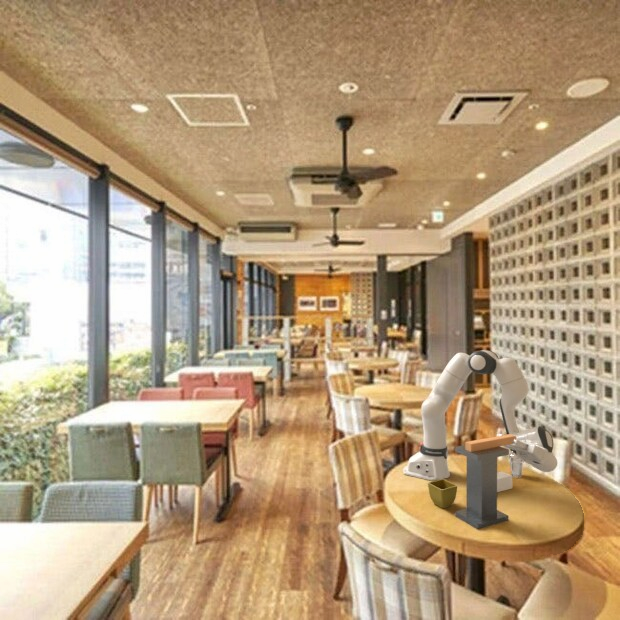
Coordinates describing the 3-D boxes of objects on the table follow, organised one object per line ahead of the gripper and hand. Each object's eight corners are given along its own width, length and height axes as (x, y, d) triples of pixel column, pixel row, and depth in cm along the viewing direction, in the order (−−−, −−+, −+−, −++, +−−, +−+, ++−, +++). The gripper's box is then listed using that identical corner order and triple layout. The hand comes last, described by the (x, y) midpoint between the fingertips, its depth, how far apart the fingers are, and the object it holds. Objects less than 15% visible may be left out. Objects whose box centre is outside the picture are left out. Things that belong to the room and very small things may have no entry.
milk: (502, 483, 220) (466, 492, 211) (502, 470, 220) (466, 479, 210) (512, 488, 215) (476, 497, 205) (512, 475, 215) (476, 484, 205)
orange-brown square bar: (471, 451, 181) (471, 444, 181) (465, 449, 183) (465, 441, 183) (515, 443, 191) (515, 435, 191) (509, 441, 194) (509, 434, 194)
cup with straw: (507, 471, 236) (507, 431, 235) (526, 474, 232) (527, 433, 232) (507, 477, 228) (507, 436, 227) (527, 480, 224) (527, 438, 224)
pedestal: (477, 529, 177) (477, 455, 176) (455, 516, 188) (455, 446, 187) (508, 520, 184) (508, 449, 183) (485, 508, 195) (485, 441, 194)
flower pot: (441, 511, 192) (441, 489, 192) (427, 503, 200) (427, 482, 200) (457, 507, 196) (457, 485, 196) (442, 499, 204) (442, 478, 204)
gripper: (510, 437, 206) (490, 425, 201) (551, 451, 188) (530, 437, 182) (505, 451, 205) (484, 438, 200) (546, 466, 187) (525, 453, 181)
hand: (507, 438), depth 191 cm, fingers open, 6 cm apart
